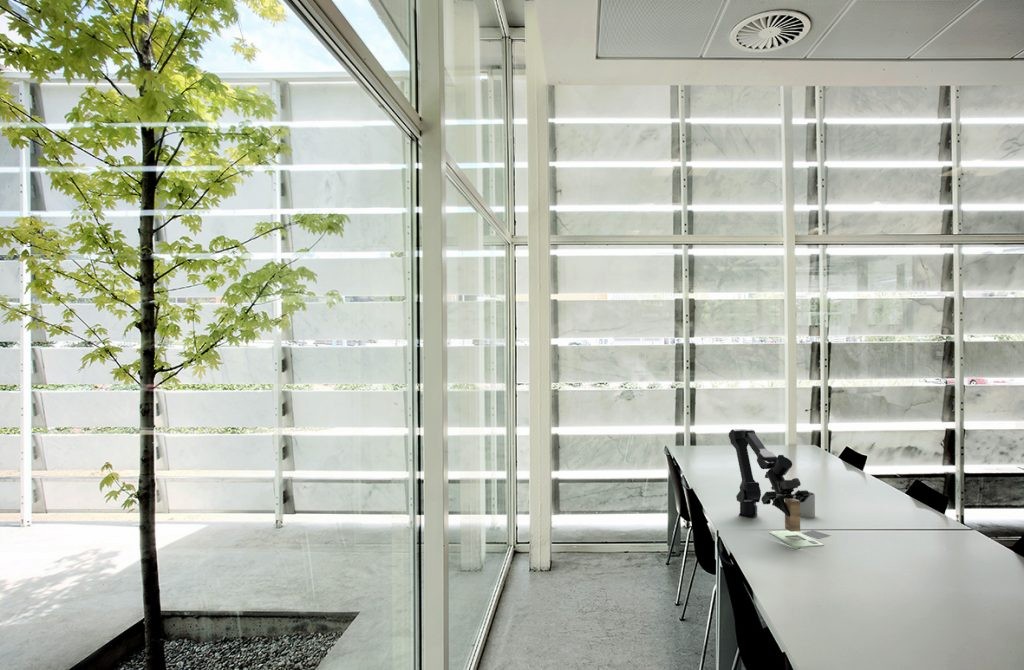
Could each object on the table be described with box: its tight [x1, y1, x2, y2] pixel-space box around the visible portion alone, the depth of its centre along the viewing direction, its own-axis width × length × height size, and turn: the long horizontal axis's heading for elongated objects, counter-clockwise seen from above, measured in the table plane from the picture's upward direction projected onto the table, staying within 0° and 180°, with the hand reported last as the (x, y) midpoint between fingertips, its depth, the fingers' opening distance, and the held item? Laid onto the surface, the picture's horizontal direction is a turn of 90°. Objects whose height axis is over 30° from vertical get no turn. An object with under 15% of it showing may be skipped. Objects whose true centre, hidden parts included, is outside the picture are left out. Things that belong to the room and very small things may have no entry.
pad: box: [801, 529, 832, 540], centre depth 247 cm, size 8×8×1 cm
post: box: [784, 498, 801, 532], centre depth 243 cm, size 4×4×12 cm
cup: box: [794, 490, 816, 519], centre depth 275 cm, size 8×8×10 cm
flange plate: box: [768, 529, 825, 550], centre depth 241 cm, size 18×12×1 cm, turn 9°
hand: (794, 515), depth 242 cm, fingers closed on post, 4 cm apart
